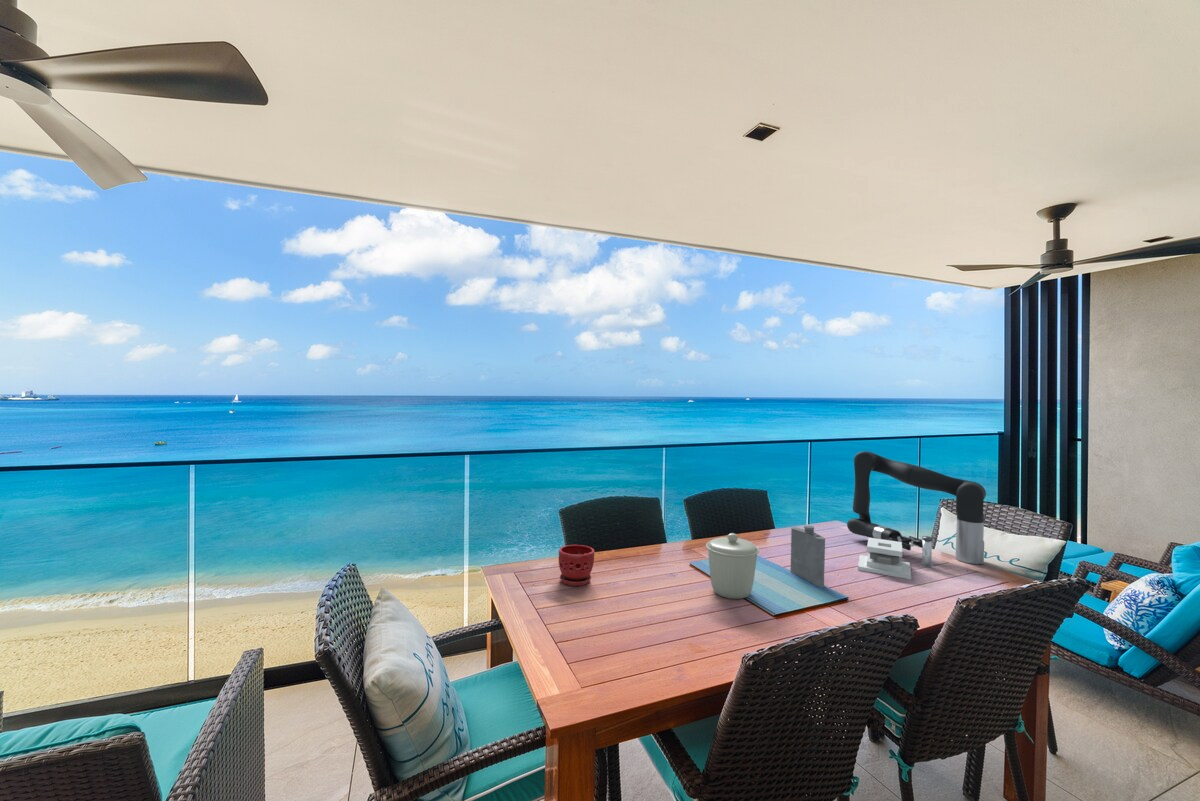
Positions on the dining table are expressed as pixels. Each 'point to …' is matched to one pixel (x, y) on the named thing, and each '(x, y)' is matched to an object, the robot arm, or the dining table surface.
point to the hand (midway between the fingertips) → (918, 547)
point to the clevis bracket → (884, 559)
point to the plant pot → (576, 564)
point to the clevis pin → (927, 551)
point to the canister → (732, 566)
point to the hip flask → (808, 554)
